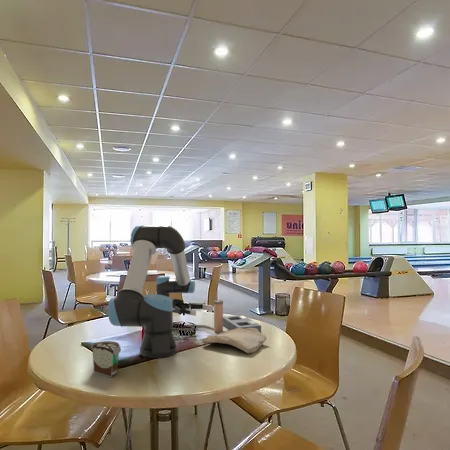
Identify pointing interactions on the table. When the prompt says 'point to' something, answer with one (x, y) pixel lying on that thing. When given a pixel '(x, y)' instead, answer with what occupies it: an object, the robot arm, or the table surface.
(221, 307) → the plug
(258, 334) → the beige flat rock
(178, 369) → the table surface
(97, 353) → the food container
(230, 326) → the socket board
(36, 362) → the table surface
